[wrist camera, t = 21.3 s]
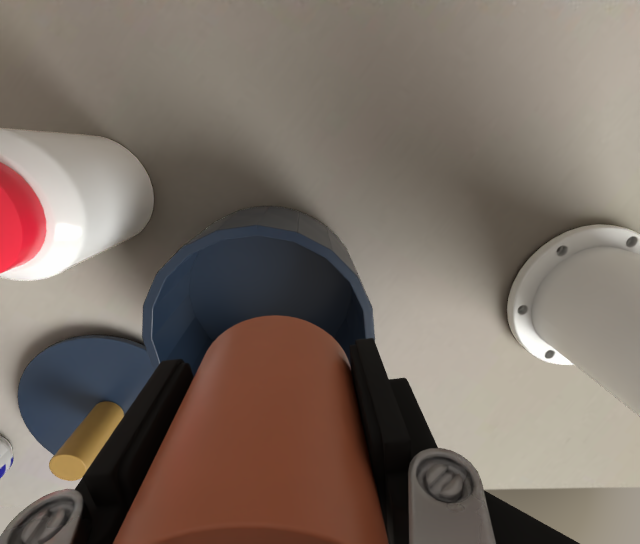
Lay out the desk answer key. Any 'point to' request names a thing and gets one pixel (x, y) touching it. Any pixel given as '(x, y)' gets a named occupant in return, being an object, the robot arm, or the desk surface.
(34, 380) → the lid
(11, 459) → the beverage can
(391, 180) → the desk surface
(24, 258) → the pill bottle
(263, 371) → the candle
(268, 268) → the tin
